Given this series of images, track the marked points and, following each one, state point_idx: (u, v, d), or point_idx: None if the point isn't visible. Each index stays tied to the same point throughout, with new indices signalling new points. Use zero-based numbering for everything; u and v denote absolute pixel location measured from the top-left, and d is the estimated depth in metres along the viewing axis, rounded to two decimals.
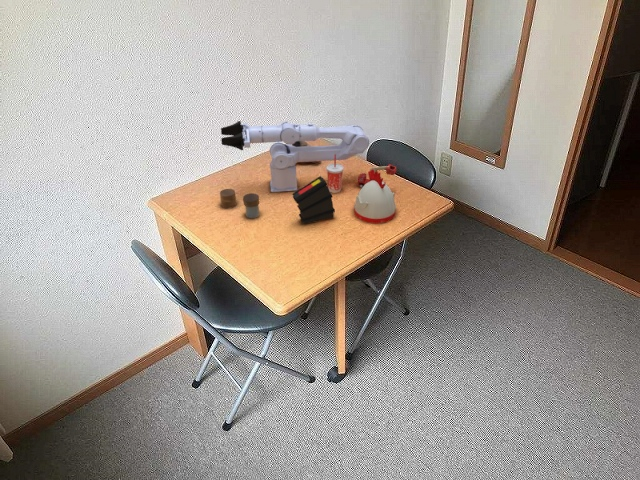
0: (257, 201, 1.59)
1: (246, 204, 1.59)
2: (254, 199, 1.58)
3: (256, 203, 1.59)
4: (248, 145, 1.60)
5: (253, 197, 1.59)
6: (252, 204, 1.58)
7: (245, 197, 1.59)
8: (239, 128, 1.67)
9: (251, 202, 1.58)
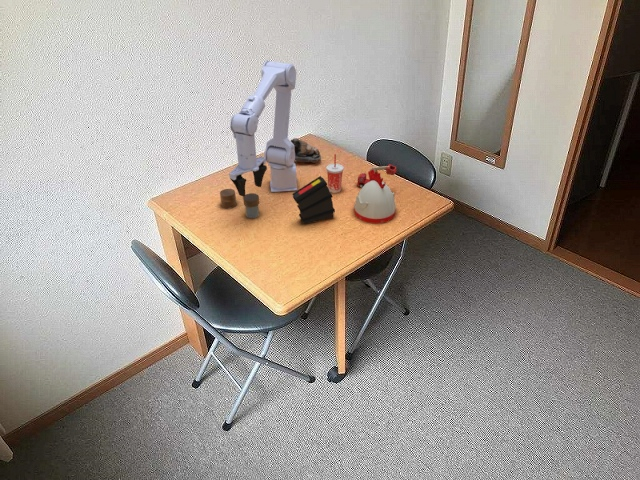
0: (257, 201, 1.59)
1: (246, 204, 1.59)
2: (254, 199, 1.58)
3: (256, 203, 1.59)
4: None
5: (253, 197, 1.59)
6: (252, 204, 1.58)
7: (245, 197, 1.59)
8: None
9: (251, 202, 1.58)
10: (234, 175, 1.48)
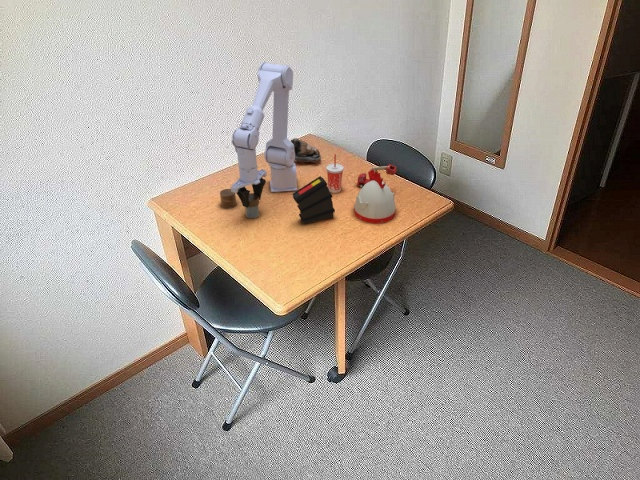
0: (257, 201, 1.59)
1: None
2: (254, 199, 1.58)
3: (256, 203, 1.59)
4: None
5: (254, 197, 1.59)
6: (252, 204, 1.58)
7: None
8: None
9: (251, 202, 1.58)
10: (236, 188, 1.51)
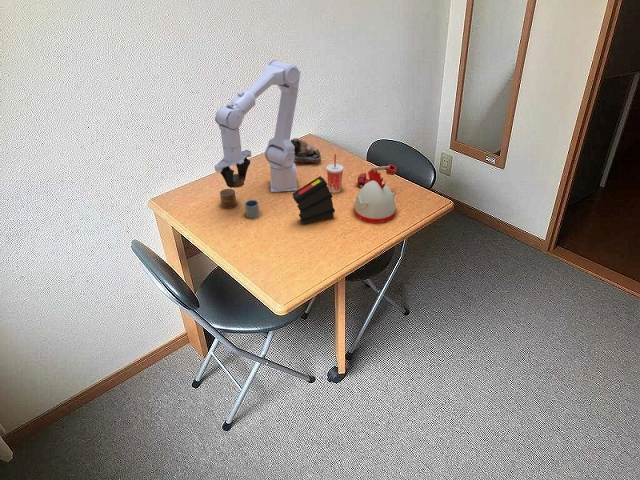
0: (242, 181, 1.59)
1: None
2: (239, 179, 1.58)
3: (241, 183, 1.59)
4: None
5: (238, 178, 1.59)
6: (237, 184, 1.58)
7: None
8: None
9: (235, 182, 1.58)
10: (219, 168, 1.51)
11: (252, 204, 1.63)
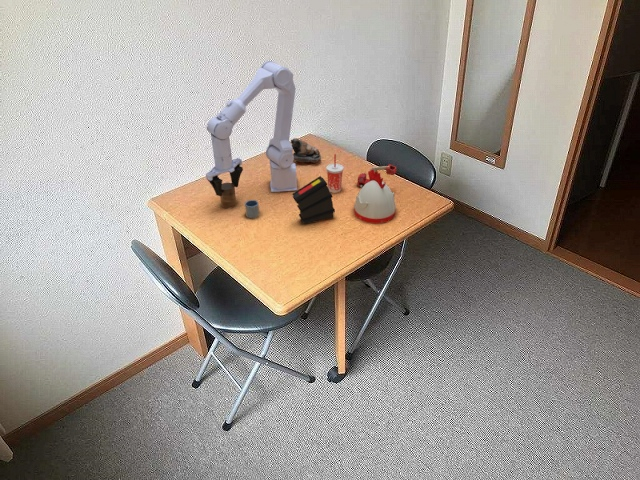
0: (232, 190, 1.64)
1: (222, 193, 1.64)
2: (229, 188, 1.64)
3: (231, 192, 1.64)
4: None
5: (229, 186, 1.64)
6: (228, 193, 1.64)
7: None
8: None
9: (226, 191, 1.63)
10: (210, 176, 1.56)
11: (252, 204, 1.63)
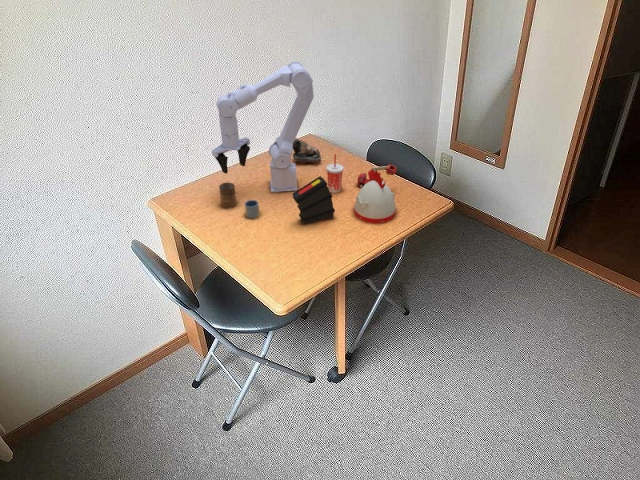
0: (232, 190, 1.64)
1: (222, 193, 1.64)
2: (229, 188, 1.64)
3: (231, 192, 1.64)
4: None
5: (229, 186, 1.64)
6: (228, 193, 1.64)
7: (221, 186, 1.65)
8: None
9: (226, 191, 1.63)
10: (216, 152, 1.60)
11: (252, 204, 1.63)
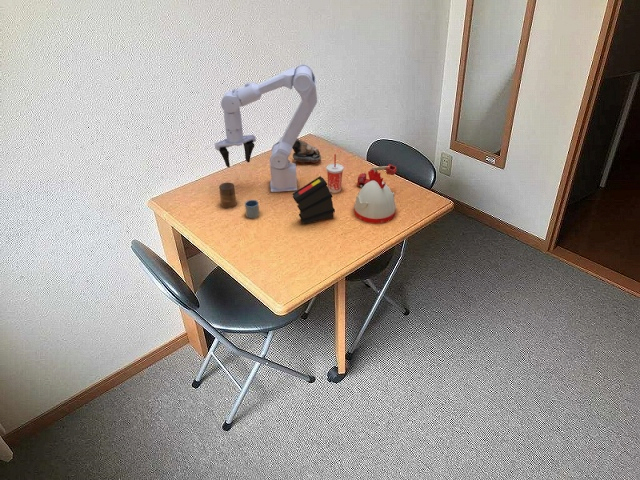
0: (232, 190, 1.64)
1: (222, 193, 1.64)
2: (229, 188, 1.64)
3: (231, 192, 1.64)
4: None
5: (229, 186, 1.64)
6: (228, 193, 1.64)
7: (221, 186, 1.65)
8: None
9: (226, 191, 1.63)
10: (217, 146, 1.65)
11: (252, 204, 1.63)
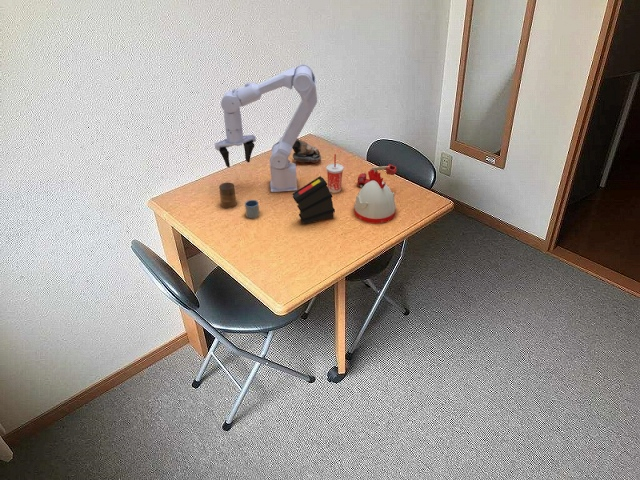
0: (232, 190, 1.64)
1: (222, 193, 1.64)
2: (229, 188, 1.64)
3: (231, 192, 1.64)
4: None
5: (229, 186, 1.64)
6: (228, 193, 1.64)
7: (221, 186, 1.65)
8: None
9: (226, 191, 1.63)
10: (217, 146, 1.65)
11: (252, 204, 1.63)
